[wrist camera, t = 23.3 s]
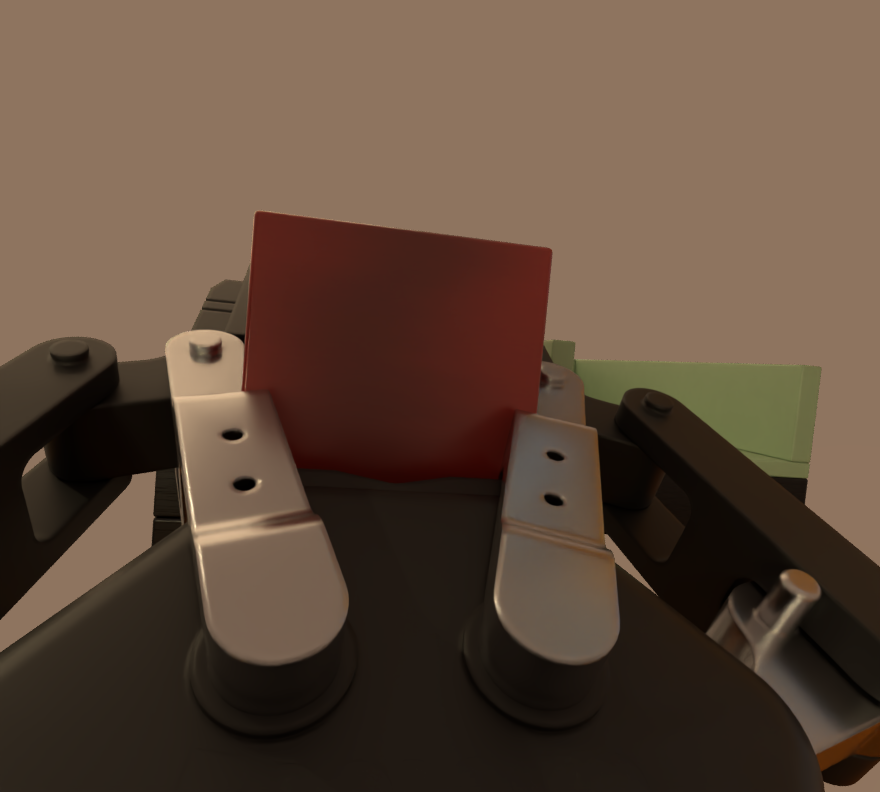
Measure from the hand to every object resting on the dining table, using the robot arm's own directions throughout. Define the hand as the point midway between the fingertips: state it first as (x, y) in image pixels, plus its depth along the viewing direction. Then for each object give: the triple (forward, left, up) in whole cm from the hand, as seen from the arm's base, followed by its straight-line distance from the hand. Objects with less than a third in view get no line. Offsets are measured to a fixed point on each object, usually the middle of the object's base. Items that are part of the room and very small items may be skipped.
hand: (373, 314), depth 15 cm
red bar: (0, +5, -4) cm, 6 cm away
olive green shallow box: (+10, +11, -4) cm, 15 cm away
